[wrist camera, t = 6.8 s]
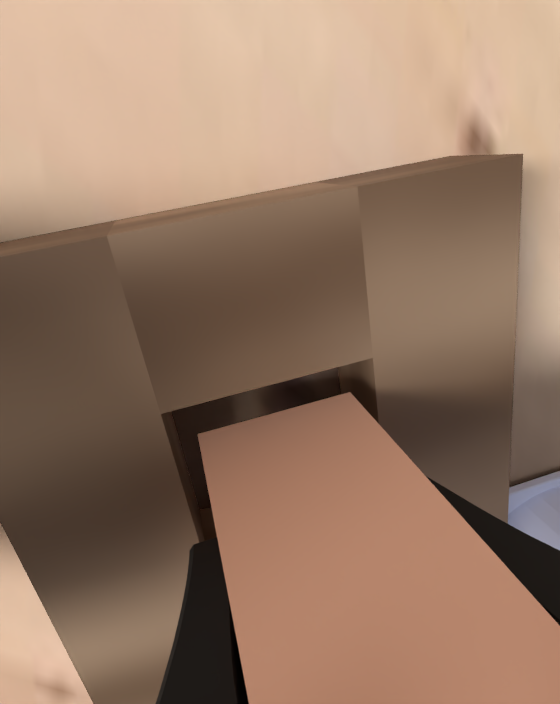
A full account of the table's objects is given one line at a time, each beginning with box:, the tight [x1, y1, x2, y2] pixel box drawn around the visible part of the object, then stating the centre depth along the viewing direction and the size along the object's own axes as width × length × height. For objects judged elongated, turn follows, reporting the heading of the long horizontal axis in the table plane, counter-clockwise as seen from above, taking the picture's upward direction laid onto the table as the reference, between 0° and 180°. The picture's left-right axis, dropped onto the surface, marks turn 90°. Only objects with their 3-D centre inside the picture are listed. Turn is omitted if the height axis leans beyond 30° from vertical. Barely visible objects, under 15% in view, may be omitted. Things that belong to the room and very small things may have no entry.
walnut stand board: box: [0, 154, 523, 704], centre depth 14 cm, size 14×14×3 cm
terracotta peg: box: [198, 392, 560, 704], centre depth 9 cm, size 4×4×8 cm
